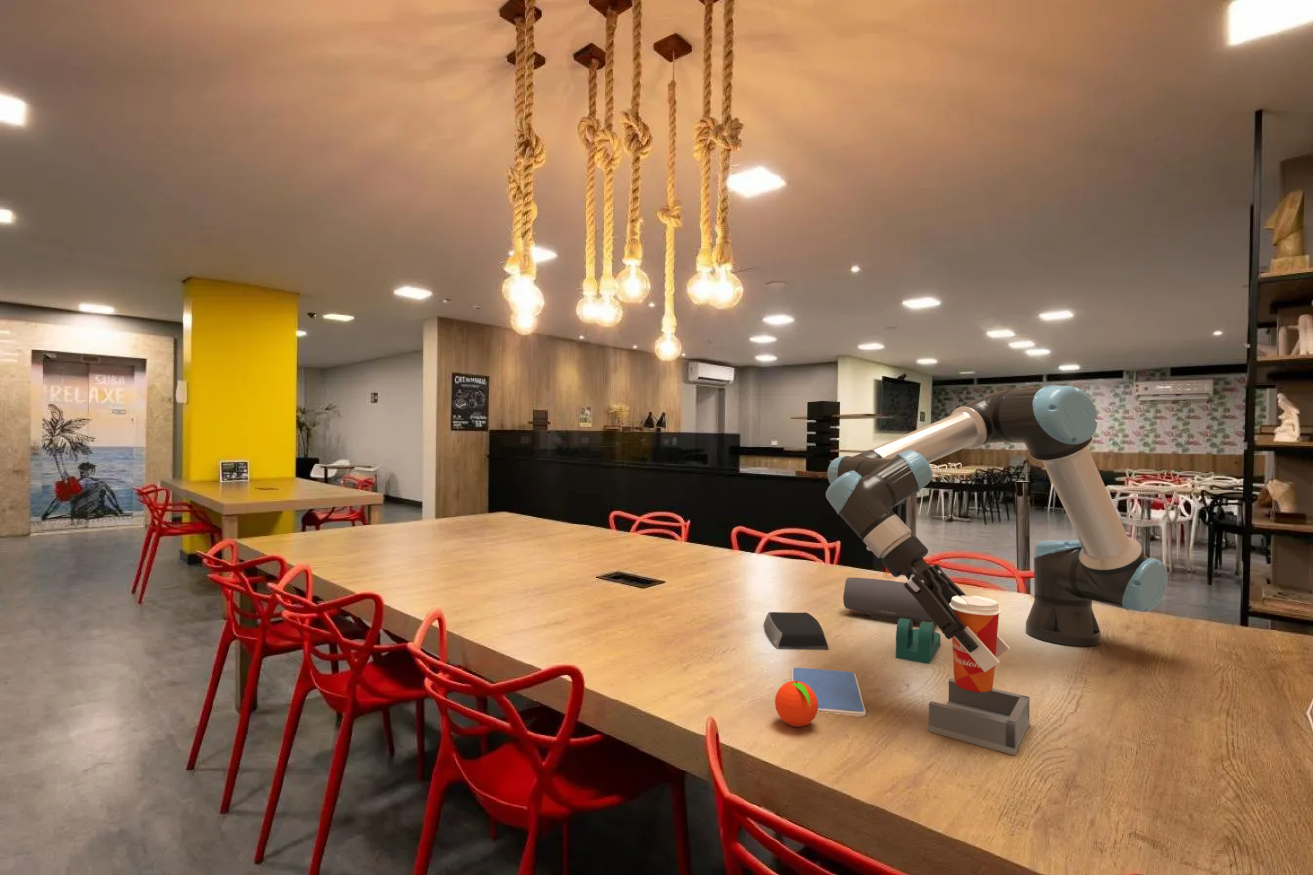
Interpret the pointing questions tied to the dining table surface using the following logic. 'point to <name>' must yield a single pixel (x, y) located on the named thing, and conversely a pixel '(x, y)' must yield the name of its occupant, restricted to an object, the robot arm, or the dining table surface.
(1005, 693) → the cup holder
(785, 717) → the clementine
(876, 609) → the bluetooth speaker
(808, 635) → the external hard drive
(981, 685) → the paper cup
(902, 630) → the bracket
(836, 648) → the dining table surface
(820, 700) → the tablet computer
